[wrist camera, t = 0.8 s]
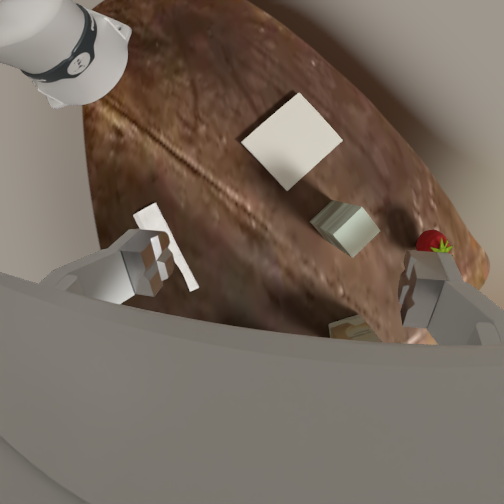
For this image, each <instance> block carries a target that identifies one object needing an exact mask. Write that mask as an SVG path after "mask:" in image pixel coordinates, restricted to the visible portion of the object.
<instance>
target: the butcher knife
mask: <svg viewBox="0 0 504 504" xmlns="http://www.w3.org/2000/svg"><path fill="white" fill-rule="evenodd" d="M133 216H134V218H135V220H136V222H137V224H138V226H139V228H140V229H142V230H154V231H165V232H166V233H167V234H168V236H169V240H170V244H169V246H168V248H169V249H170V251H171V252H172V253H173V257H174V261H175V263H176V264H177V266H178V267H179V269H180V270H181V273H182V274H183V276H184V278H185V281H186V283H187V285H188V288H189V291H190V292H191V291H193V290H195V289H197V288H199V286H198V284H197V282H196V280H195V278H194V276H193V275H192V273H191V271H190V269H189V267H188V265H187V263H186V261H185V259H184V257H183V255H182V254H181V252H180V250H179V248H178V246H177V244H176V242H175V240H174V237H173V235H172V233H171V231H170V229H169V227H168V225H167V223H166V222H165V219H164V218H163V216H162V214H161V212H160V210H159V208H158V206H157V204H156V203H154V204H152V205H150V206H148V207H146V208H144V209H143V210H141V211H139V212H137V213H136V214H134V215H133Z"/></svg>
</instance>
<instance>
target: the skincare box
mask: <svg viewBox="0 0 504 504" xmlns="http://www.w3.org/2000/svg"><path fill="white" fill-rule="evenodd" d="M328 326H329V333H330V338H334V339H345V340H357V341H370V342H382V341H381V340H380V339H379V337H378V336H377V335H376V334H375V333H374V331H373V330H372V329H371V328H370V326H369V325H368V324H367V323H366V321H365V320H364V319H363V318H362V317H361V315H355V316H352V317H348V318H345V319H342V320H339V321H336V322H333V323H330V324H328Z"/></svg>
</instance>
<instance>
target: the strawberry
mask: <svg viewBox="0 0 504 504" xmlns="http://www.w3.org/2000/svg"><path fill="white" fill-rule="evenodd" d="M452 247H453V245H452V246H450V247H449V243H448V239H446V237H445V236H444V235H443V234H442V233H440V232H439V231H437V230H428V231H425V232H423V233H422V234H421V235H420V237H419V238H418V240H417V243H416V249H417V251H427V252H441V253H450V250H451V248H452ZM452 256H453V255H452Z"/></svg>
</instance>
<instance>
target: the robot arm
mask: <svg viewBox="0 0 504 504" xmlns="http://www.w3.org/2000/svg"><path fill="white" fill-rule="evenodd" d="M120 28H121V30H119V29H120ZM131 32H132V30H131V28H130V27H129V26H127V25H125V24H123V23H121V22H118V21H116V20H114V19H112V18H109V17H107V16H104V15H102V14H100V13H97V12H95V11H92V10H89V9H87V8H84V7H82V6H81V5H79V4H76V3H75V2H74V1H73V0H0V63H3V64H7V65H10V66H13V67H16V68H18V69H20V70H21V71H22V72H23V73H24V74H25V75H27V76H28V77H29V78H31V79H33V81H32V83H33V84H34V85H35V86H37V87H38V88H37V90H38V91H39V92H41V93H43V94H45V96H46V98H47V100H48V102H49V104H50V106H51V107H52V108H54V109H59V108H62V107H64V106H67V105H84V104H89V103H92V102H94V101H96V100H98V99H100V98H101V97H103V96H104V95H106V94H107V93H108V92H109V91H110V90H111V89H112V88H113V87H114V86H115V85H116V84H117V82H118V81H119V79H120V78H121V76H122V74H123V72H124V70H125V67H126V64H127V59H128V50H127V44H128V41H129V38H130V36H131ZM169 244H170V240H169V236H168V234H167V233H166V232H165V231H154V230H142V229H129V230H128V231H127V232H126V233H125V234H123V235H122V236H121V237H120V238H119V239H118V240H117V241H115V242H114V243H113V244H112V245H111V246H110V247H109V248H108V249H103V250H100V251H98V252H95V253H93V254H90V255H88V256H86V257H83V258H81V259H78V260H76V261H74V262H71V263H69V264H67V265H64V266H62V267H59V268H57V269H55V270H53V271H52V272H51V273H50V274H49V275H47V277H45V278H44V279H43V280H42V281H41V282H40V283H39V284H38V283H35V282H31V281H27V280H24V279H21V278H17V277H14V276H11V275H8V274H5V273H2V272H0V504H504V311H503V310H502V309H501V308H500V307H498V306H497V305H496V304H495V303H493V302H492V301H491V300H490V299H488V298H487V297H486V296H485V295H483V294H482V293H481V292H480V291H478V290H477V289H476V288H474V287H473V286H472V285H471V284H469V283H468V282H464V281H463V279H462V277H461V274H460V272H459V270H458V268H457V266H456V264H455V261H454V259H453V257H452V255H451V254H450V253H441V252H427V251H412V250H408V251H407V252H406V254H405V258H404V266H405V270H404V271H403V272H402V273H401V275H400V280H399V287H398V298H399V302H400V303H401V304H402V308H401V311H400V312H401V319H402V325H403V326H405V327H417V328H427V330H428V331H429V333H430V334H431V335H432V337H433V338H434V339H435V340H436V342H437V343H438V344H439V345H424V344H402V343H384V342H370V341H357V340H345V339H334V338H324V337H314V336H305V335H296V334H288V333H280V332H272V331H265V330H258V329H251V328H244V327H237V326H231V325H224V324H218V323H212V322H206V321H201V320H195V319H189V318H184V317H178V316H173V315H168V314H163V313H158V312H153V311H148V310H143V309H139V308H134V307H129V306H125V305H120V304H121V303H122V302H124V301H126V300H127V299H129V298H130V297H132V296H133V295H135V294H140V295H147V296H155V295H156V293H157V292H158V291H159V289H160V288H161V287H162V285H163V284H162V281H163V280H165V279H167V278H169V276H170V275H171V273H172V271H173V267H174V257H173V253H172V252H171V251H170V249H169V248H168V246H169Z"/></svg>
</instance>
